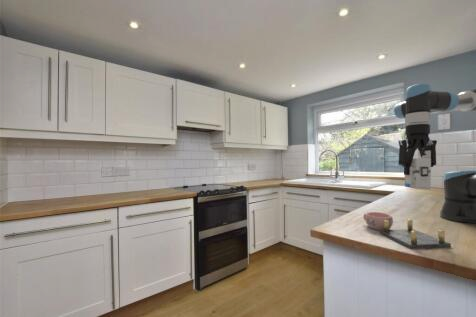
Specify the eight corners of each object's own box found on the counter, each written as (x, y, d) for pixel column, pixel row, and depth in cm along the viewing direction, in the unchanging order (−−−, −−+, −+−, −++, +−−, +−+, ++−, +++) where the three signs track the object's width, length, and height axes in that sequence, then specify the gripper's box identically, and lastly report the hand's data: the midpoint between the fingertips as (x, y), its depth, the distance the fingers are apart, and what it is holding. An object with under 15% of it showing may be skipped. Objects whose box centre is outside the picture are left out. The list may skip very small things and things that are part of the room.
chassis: (413, 232, 88) (413, 219, 88) (450, 247, 73) (450, 231, 73) (379, 233, 88) (379, 220, 88) (410, 248, 73) (409, 232, 73)
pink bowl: (398, 230, 91) (398, 216, 91) (382, 233, 87) (382, 218, 87) (371, 222, 102) (370, 210, 102) (356, 225, 98) (355, 212, 98)
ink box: (404, 186, 91) (404, 151, 91) (417, 187, 90) (418, 151, 90) (416, 189, 83) (416, 150, 83) (431, 189, 82) (431, 150, 82)
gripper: (432, 126, 90) (432, 182, 90) (387, 125, 90) (386, 182, 90) (450, 123, 83) (449, 184, 83) (401, 122, 83) (400, 184, 82)
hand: (417, 183), depth 86 cm, fingers closed on ink box, 6 cm apart
